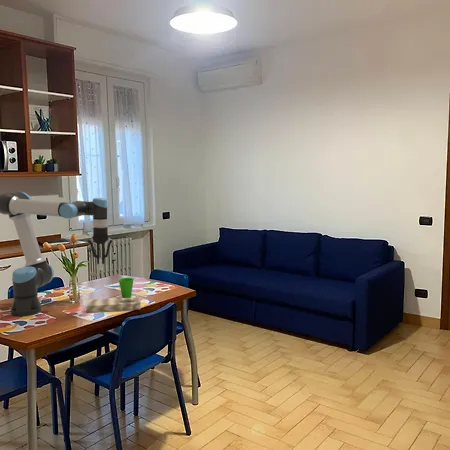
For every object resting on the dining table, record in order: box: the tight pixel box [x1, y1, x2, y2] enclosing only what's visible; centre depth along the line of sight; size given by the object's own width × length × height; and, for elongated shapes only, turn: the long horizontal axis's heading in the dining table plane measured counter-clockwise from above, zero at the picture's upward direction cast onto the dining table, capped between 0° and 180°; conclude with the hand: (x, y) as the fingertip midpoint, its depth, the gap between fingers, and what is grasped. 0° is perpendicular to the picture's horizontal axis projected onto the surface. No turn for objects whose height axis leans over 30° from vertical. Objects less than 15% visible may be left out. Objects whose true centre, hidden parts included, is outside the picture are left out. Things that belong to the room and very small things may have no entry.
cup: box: [117, 277, 135, 298], centre depth 275 cm, size 9×9×11 cm
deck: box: [86, 296, 142, 313], centre depth 255 cm, size 28×12×4 cm, turn 100°
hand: (100, 269), depth 253 cm, fingers closed
